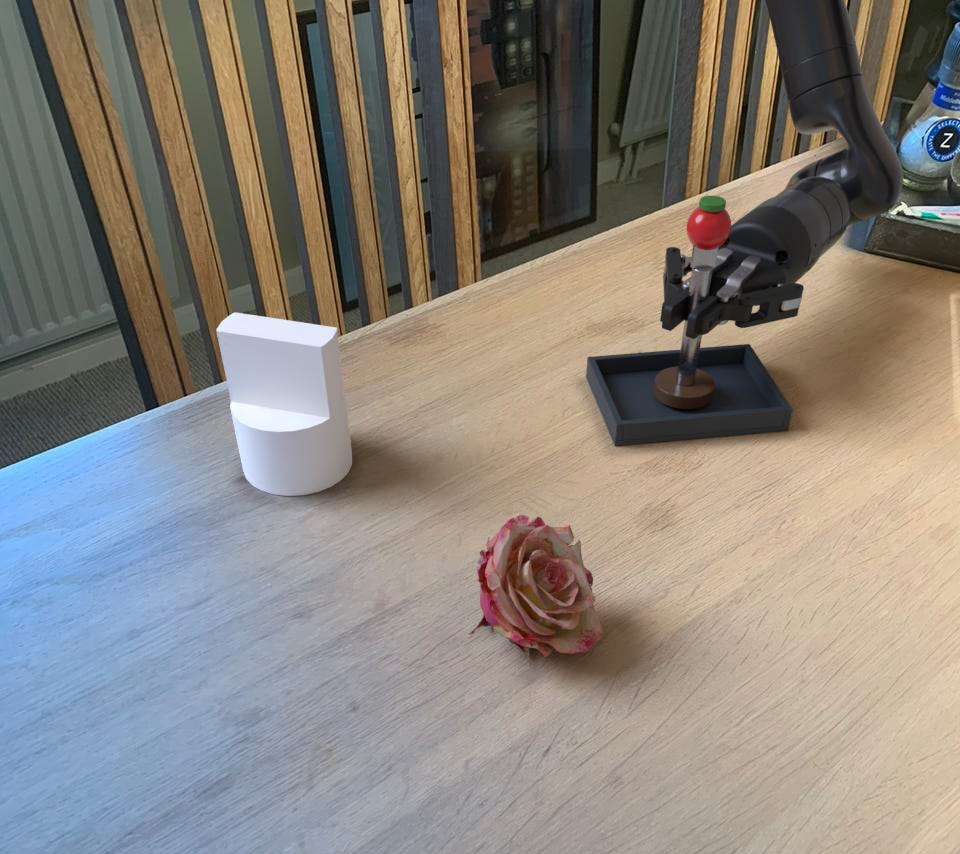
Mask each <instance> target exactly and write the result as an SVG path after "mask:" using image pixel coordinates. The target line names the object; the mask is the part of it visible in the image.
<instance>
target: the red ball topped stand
mask: <svg viewBox="0 0 960 854" xmlns="http://www.w3.org/2000/svg"><path fill="white" fill-rule="evenodd" d="M726 207H727V201H726V199H725V198H724V197H721V196H718V195H705V196H702V197H700V198H699V202H698V207H696V208H695V209H694V210H693V211H692V212H691V214H690V215H689V217H688V220H687V223H686V235H687V238H688V240H689V242H690V243H691V244H692V250H691V251H692V252H691V256H690V257H691V264H690V267H691V268H692V272H691V275H690V277H691V281H690V288H689V294H688V301H687V308H686V315H685V320H684V321H683V329H682V336H681V342H680V349H679V350H680V356H679V363H678V366H676V367H670V368H667V369H664V370H662V371H661V372H659V373H658V374H657V376H656V378H655V384H654V395H655V397H656V398H657V399H658V400H659V401H660V402H662V403H663V404H665V405H667V406H670V407H673V408H678V409H696V408H700V407H703V406H705V405H707V404H708V403H710V402H711V400H712V399H713V395H714V389H715V381H714V379H713V378H712V377H711V376H710V375H709V374H708V373H706V372H705V371H702V370H700V369H697V363H698V357H699V350H700V348H701V344H702V338H703V335H699V336H698V337H697V338H695V339H693V338H690V337H687V336H686V329H687V322H688V317H689V314H690V312H691V311H692V310H694V309H695V308H696V307H697V306H699V305H700V304H701V303H702V302H703V301H705V300H706V299H707V298H708V295H709V289H710V282H711V276H712V270H713V267H715V266H716V260H717V254H718V248H719V247H720V246H721V245H722V244H723V243H724V242H725V241H726V240H727V238H728V237H729V234H730V231H731V226H732V219H731V216H730V214H729V212H728V211H727V210H726Z"/></svg>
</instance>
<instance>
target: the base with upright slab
mask: <svg viewBox="0 0 960 854" xmlns="http://www.w3.org/2000/svg"><path fill="white" fill-rule="evenodd" d="M215 332H216V337H217V341H218V347H219V351H220V355H221V361H222V366H223V369H224V375H225V380H226V385H227V389H228V395H229V399H230V405H229V408H230V413H231V419H232V422H233V428H234V433H235V438H236V443H237V447H238V453H239V457H240V462H241V466H242V471H243V474H244V477H245V479H246V480H247V481H248V483H250V485H251V486H252V487H254V488H256V489H258V490H260V491H261V492H264V493H268V494H271V495H275V496H284V497H296V496H298V497H299V496H306V495H312V494H316V493H320V492H321V491H324V490H327V489H330V488H332V487H333V486H335V485H337V483H339V482H341V481H342V480H343V479H344V478H345V477H346V476H347V475H348V474H349V472H350V470H351V468H352V466H353V449H352V442H351V432H350V425H349V424H350V423H349V415H348V406H347V405H348V404H347V397H346V392H345V386H344V377H343V369H342V361H341V351H340V342H339V334H338V327H337V326H336V327H335V326H328V325H323V324H316V323H308V322H302V321H297V320H289V319H282V318H275V317H268V316H263V315H262V316H261V315H257V314H256V315H255V314H248V313H241V312H236V311H235V312H233V313H231V314H229V315H228V316H226V317H225V318H224V319H223V320H222V321H221V322H220V323H219V325H218V326H217V328H216V331H215Z"/></svg>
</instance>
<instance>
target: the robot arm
mask: <svg viewBox="0 0 960 854" xmlns="http://www.w3.org/2000/svg"><path fill="white" fill-rule="evenodd" d="M765 4H766V8H767V12H768V18H769V20H770V25H771V29H772V33H773V38H774V42H775V48H776V51H777V56H778V61H779V66H780V71H781V76H782V82H783V85H784V90H785V94H786V99H787V105H788V108H789V114H790V117H791V122H792V124H793V127H794V129H795V130H796V131H797V132H798V133H799V134H801V135H816V134H822V133H827V132H829V131H836V132H837V133H838V135H840V136H841V137H842V139H843V140H844V142H845V144H846V148H843V149H841V150H839V151H836V152H834V153H831V154H829V155H827V156H825V157H822V158H819V159H817V160H815V161H813V162H811V163H809V164H807V165H805V166H804V167H802V168H800V169H799V170H798V171H796V172H795V173H793V175H792V176H791V177H790V179H789V181H788V182H787V184H786V186H785V188H784V189H783V190H781V191H780V192H779V193H778V194H776V195H775V196H772V197H770V198H768V199H766V200H764V201H763V202H761V203H760V204H759V205H757V206H756V207H755V208H753V209H752V210H750V211H749V212H747V213H746V214H745V215H744V216H742V217H741V218H739V219H738V220H737V221H735V222H734V223H733V224H731V231H730V234H729V237H728V238H727V240H726V241H725V242H724V243H723V244H722V245H721V246H720V247H719V248H718V254H717V260H716V266H715V267H713V270H712V276H711V282H710V289H709V295H708V298H707V299H706V300H705V301H703V302H702V303H701V304H700V305H699V306H697V307H696V308H695V309H694V310H692V311H691V312H690V314H689V317H688V322H687V329H686V336H687V337H690V338H693V339H695V338H697V337H698V336H699V335H702V336H704V335H708V334H709V333H710V332H711V331H712V330H713V329H714V328H716V327H717V326H718V325H719V326H723V325H726V324H727V323H728V322H729V321H731V322H734V326H735V327H737V328H740V329H747V328H751V327H756V326H760V325H764V324H768V323H773V322H777V321H781V320H786V319H790V318H795V317H797V316H798V314H799V310H800V307H801V303H802V298H803V292H804V285H803V284H801V283H798V281H800V279H801V278H803V277H804V276H805V275H806V274H807V273H808V272H809V271H811V270H812V268H813V267H814V266H815V265H816V264H817V262H818V261H819V259H820V258H821V257H822V256H824V255H825V253H827V252H828V251H829V250H830V249H831V248H832V247H834V246H835V245H836V244H837V242H838V241H840V239H841V238H842V236H843V235H844V234H845V232H846V230H847V228H848V227H849V226H852V225H855V224H857V223H861V222H864V221H866V220H869V219H872V218H875V217H877V216H879V215H882V214H885V213H886V212H888V211H890V210H892V209H893V207H894V206H895V205H896V204H897V202H898V200H899V199H900V196H901V193H902V190H903V186H904V172H903V166H902V163H901V160H900V157H899V155H898V153H897V152H896V149H895V148H894V145H893V144H892V142H891V140H890V138H889V136H888V135H887V133H886V132H885V130H884V127H883V126H882V124H881V122H880V119H879V118H878V116H877V113H876V111H875V109H874V107H873V104H872V102H871V100H870V97H869V95H868V92H867V89H866V85H865V81H864V77H863V72H862V71H863V70H862V66H861V62H860V55H859V51H858V47H857V46H858V45H857V41H856V36H855V33H854V32H855V31H854V27H853V24H852V21H851V17H850V13H849V11H848V8H847V7H848V6H847V4H846V1H845V0H765ZM665 250H666V251H665V258H664V266H663V273H662V280H663V281H662V284H663V302H662V304H661V312H660V319H659V322H660V323H661V328H662V329H663V330H667V331H669V332H672V331H673V330H675V328H677V327H678V326H679V325H681V324H682V323H684V322H685V315H686V308H687V301H688V294H689V288H690V281H691V276H689V277H688V278H687V279H685V280H683V279H684V278H685V277H687V276H688V274H689V273H692V268H691V267H690V264H691V257H692V256H686V254H681V249H680V248H678V247H675V246H669V247H667V248H666V249H665ZM753 307H759V308H758V310H757V311H756V312H753Z"/></svg>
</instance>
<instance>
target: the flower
mask: <svg viewBox="0 0 960 854" xmlns="http://www.w3.org/2000/svg"><path fill="white" fill-rule="evenodd" d="M574 539H575V536H574V532H573V530H572V527H571V524H569V525H567V526H550V525H548V524H546V523H545V522H544V519H543V518H542V517H540V516H536V517H534V518H532V519H531V520H530V517H529V516H528V515H525V514H518V515H517V516H516V517H512V518H509V519H508V520H507V521H506V522H505V524H504V525H503V526H501V527H500V529H499V531H498V532H497V533H496V534H495V535H494V536H493V537H491V538H490V537H489V536H488V537H487V540H486V544H485V546H486V550H485V549H482V550H480V552H479V555H480V557H479V559H478V561H477V563H478V565H477V566H476V573H477V577H478V579H477V582H479V590H480V591H479V592H480V593H479V594H480V595H479V604H480V609H481V611H482V614H483V615H482V617H481V620H480V622H479V623H478V624H477V626H476V627H475V628H474V629H472V631H470V633H469V634H468V636H470V635H471V636H472V635H474V634H475V632H476V631H477V630H478V629H479V628H482V627H484V628H486V627H489V626H491V628H490V630H489V632H488V636H490V635H491V634H493V633H495V631H496V632H497V633H498V634H499V635H501V636H502V637H503V638H504V639H506V640H509V642H510V643H511V644H513V645H515V646H516V647H517V648H518V649H519V650H520V651H521V652H522V653H524V655H525V657H526V658H527V660H528V664H529V668H531V666H532V664H531V660H530V649H535V650H537V651H538V652H539V653H540V654H542V656H544V658H547V657H549V655H550V654H551V653H552V652H553V649H552V648H554V649H555V650H556V652H558V653H561V654H578V653H585V652H588V651H589V650H590V649H591V648H592V646H593V644H596V643H598V641H599V640H601V638H602V637H603V634H604V631H603V628H602V625H601V622H600V620H599V616H598V614H597V611H596V609H595V605H594V603H595V601H596V596H595V593H594V592H593V589H592V588H593V587H592V586H593V584H594V576H593V574H592V572H591V570H589V569H587V567H585V565H584V560H583V553H582V544H581V543H582V542H581V540H580V539H578V540H577V542H576V543H575V544H572V543H573V542H574ZM494 630H495V631H494ZM544 643H545V644H548V645H550V646H551V647H552V648H550V647H549V646H547V645H545V644H544Z"/></svg>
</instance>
